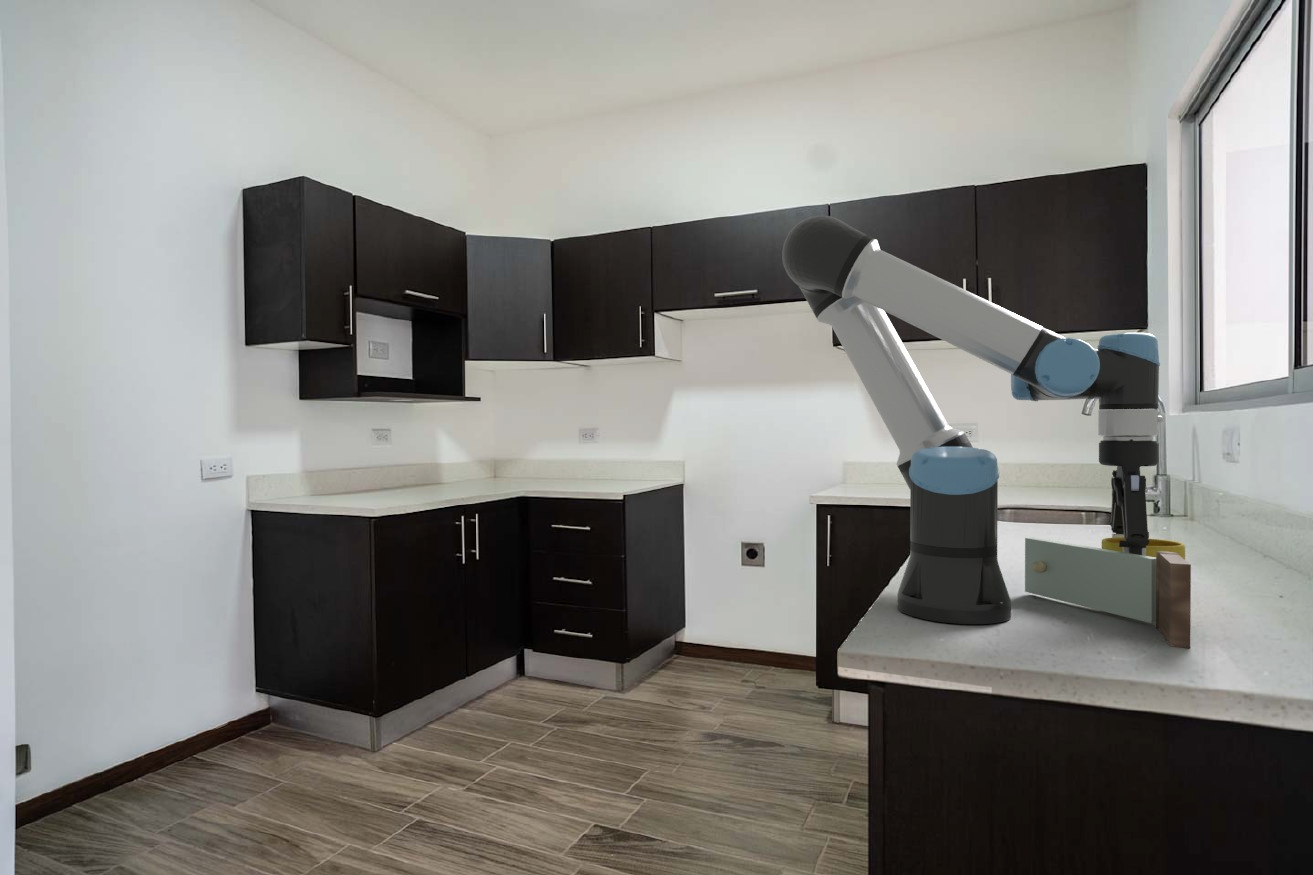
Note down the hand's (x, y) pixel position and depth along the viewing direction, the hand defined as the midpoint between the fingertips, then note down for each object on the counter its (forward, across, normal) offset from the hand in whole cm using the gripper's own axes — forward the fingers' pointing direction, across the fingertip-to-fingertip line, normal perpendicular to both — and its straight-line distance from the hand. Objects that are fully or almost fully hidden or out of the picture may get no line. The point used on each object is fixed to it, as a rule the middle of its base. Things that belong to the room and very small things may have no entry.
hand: (1127, 584), depth 112 cm
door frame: (+3, -4, -3) cm, 6 cm away
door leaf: (+3, -6, +6) cm, 9 cm away
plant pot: (+3, -1, -2) cm, 4 cm away
